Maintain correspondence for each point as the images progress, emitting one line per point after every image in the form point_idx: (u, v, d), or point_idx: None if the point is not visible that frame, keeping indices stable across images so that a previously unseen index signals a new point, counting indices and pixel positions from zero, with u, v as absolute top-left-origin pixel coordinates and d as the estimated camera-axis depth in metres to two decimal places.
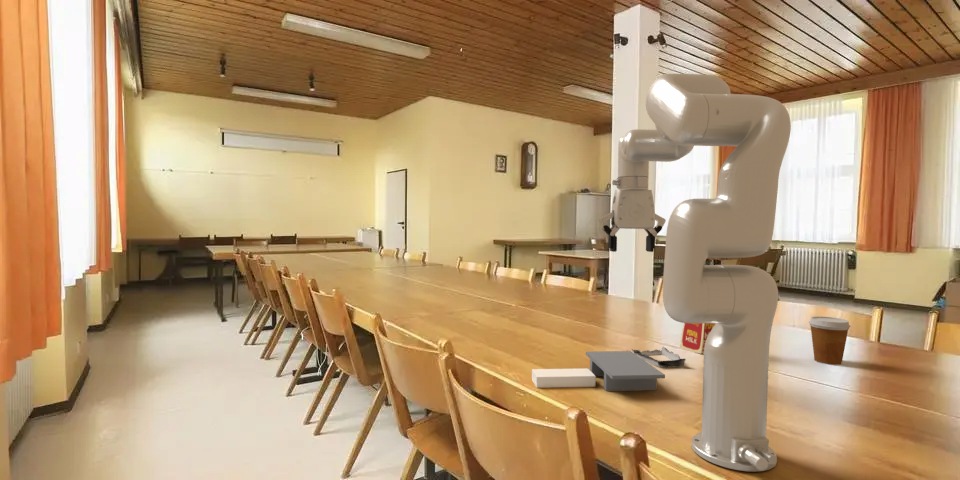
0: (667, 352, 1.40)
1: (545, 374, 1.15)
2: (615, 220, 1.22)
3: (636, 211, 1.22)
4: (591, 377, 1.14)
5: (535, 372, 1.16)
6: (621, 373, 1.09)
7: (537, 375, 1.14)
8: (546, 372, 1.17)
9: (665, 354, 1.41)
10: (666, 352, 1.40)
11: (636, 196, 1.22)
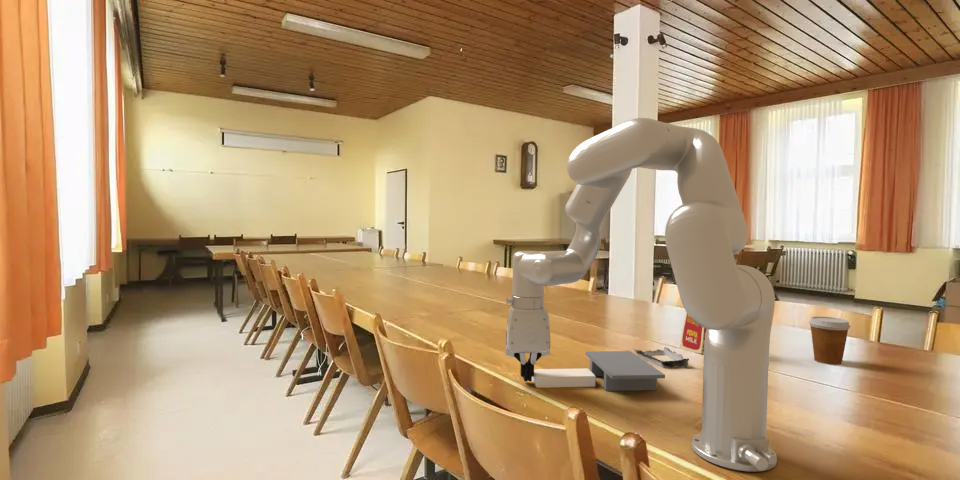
0: (669, 352, 1.40)
1: (545, 374, 1.15)
2: (507, 343, 1.13)
3: (529, 335, 1.13)
4: (591, 377, 1.14)
5: (535, 372, 1.16)
6: (621, 373, 1.09)
7: (537, 375, 1.14)
8: (546, 372, 1.17)
9: (667, 354, 1.41)
10: (669, 352, 1.40)
11: (530, 318, 1.12)
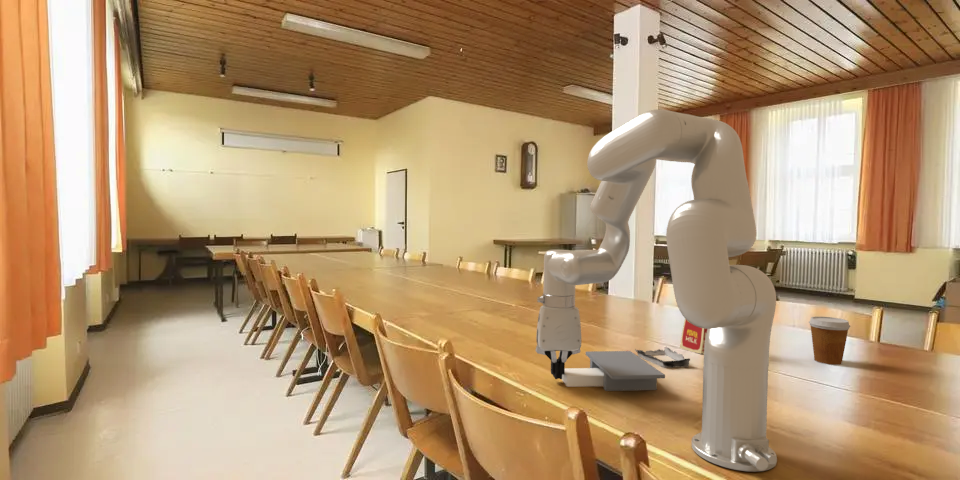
0: (670, 352, 1.40)
1: (575, 373, 1.16)
2: (539, 341, 1.14)
3: (560, 333, 1.13)
4: None
5: (565, 371, 1.17)
6: (621, 373, 1.09)
7: (567, 374, 1.15)
8: (576, 371, 1.17)
9: (668, 354, 1.41)
10: (669, 352, 1.40)
11: (561, 316, 1.13)
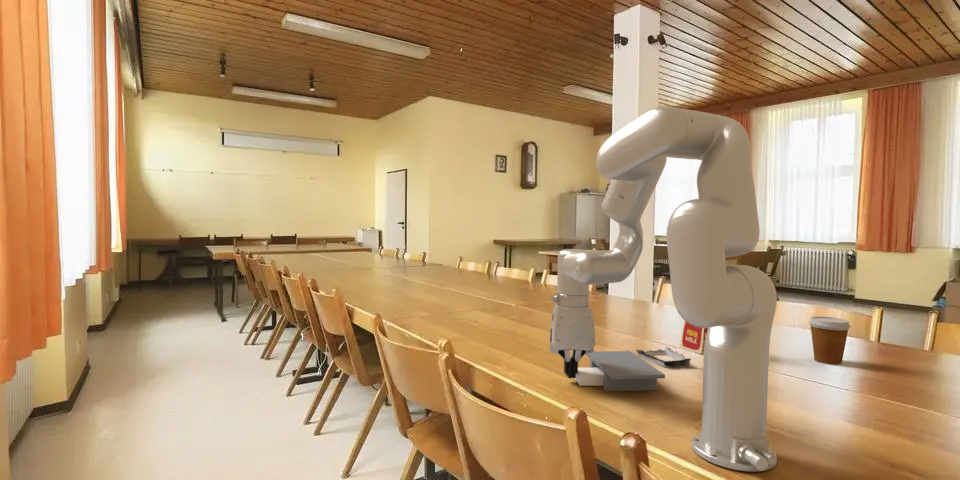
0: (671, 352, 1.40)
1: (588, 372, 1.16)
2: (552, 341, 1.14)
3: (574, 332, 1.14)
4: None
5: (578, 370, 1.17)
6: (621, 373, 1.09)
7: (580, 373, 1.15)
8: (588, 370, 1.18)
9: (668, 354, 1.41)
10: (670, 352, 1.40)
11: (575, 316, 1.13)
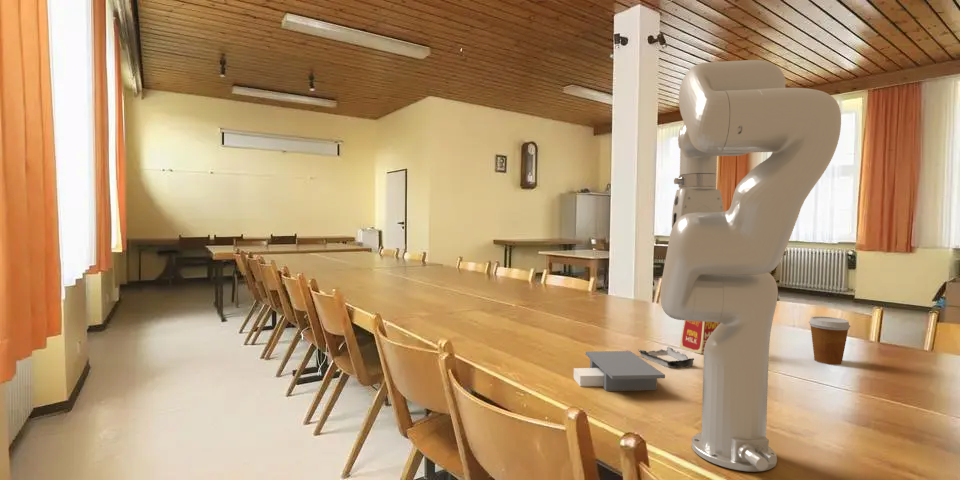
0: (673, 352, 1.40)
1: (588, 373, 1.16)
2: None
3: None
4: None
5: (578, 371, 1.17)
6: (621, 373, 1.09)
7: (580, 374, 1.15)
8: (588, 371, 1.18)
9: (671, 354, 1.41)
10: (672, 352, 1.40)
11: (704, 196, 1.05)
